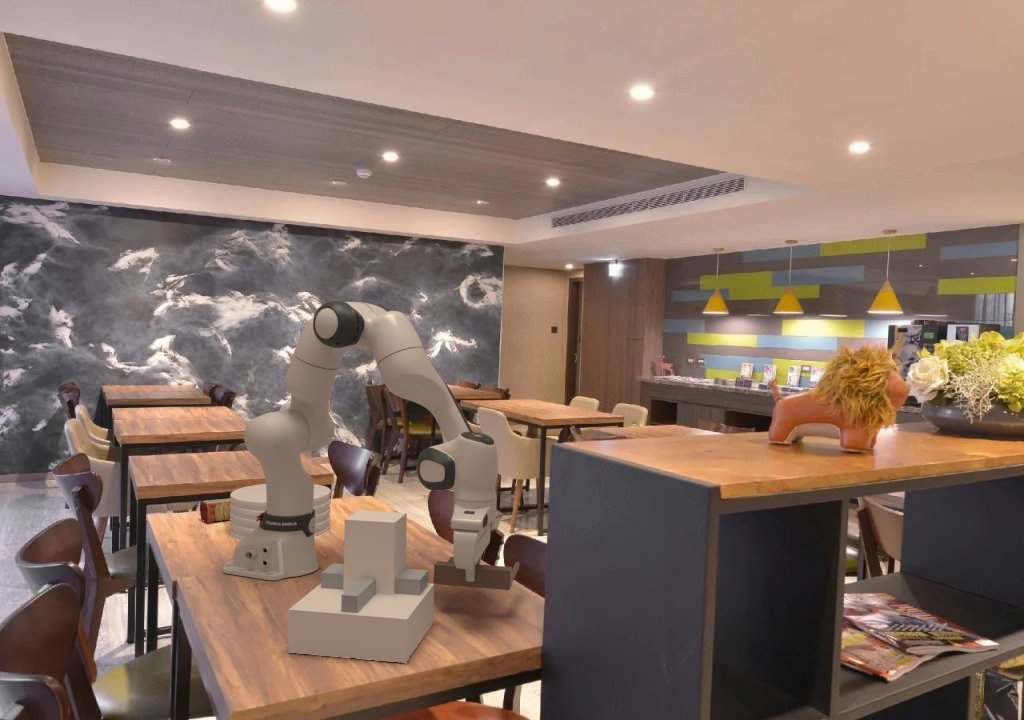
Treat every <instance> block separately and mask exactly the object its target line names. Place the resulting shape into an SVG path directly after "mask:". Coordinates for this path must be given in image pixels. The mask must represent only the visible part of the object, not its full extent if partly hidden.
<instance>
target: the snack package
mask: <svg viewBox="0 0 1024 720" xmlns="http://www.w3.org/2000/svg"><path fill="white" fill-rule="evenodd" d="M230 503H231V499H230V497H229V498H221V499H219V498H218V499H210V500H209V499H207V500H202V501H201V502H200V506H199V507H200V508H199V512H200V518H201V521H203V520H204V521H205V522H207V523H206V524H211V523H210V522H213V523H216V522H215V521H220V522H224V521H223V520H227V521H230V519H231V518H230V511H231V508H230ZM205 522H204V523H205Z"/></svg>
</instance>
